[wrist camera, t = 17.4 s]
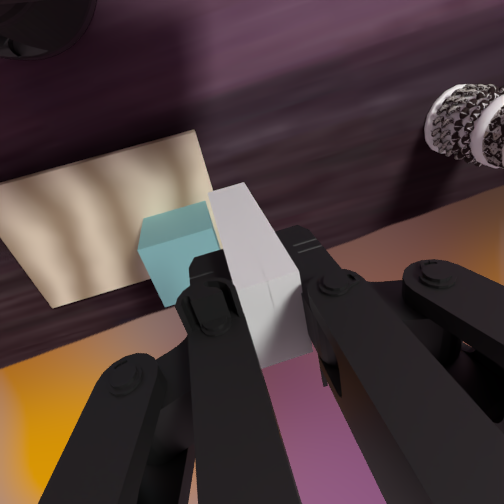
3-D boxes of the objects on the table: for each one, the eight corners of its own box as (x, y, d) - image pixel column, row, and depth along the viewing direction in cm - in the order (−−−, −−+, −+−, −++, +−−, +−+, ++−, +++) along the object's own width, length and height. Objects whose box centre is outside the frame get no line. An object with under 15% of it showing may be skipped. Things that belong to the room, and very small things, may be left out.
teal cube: (166, 269, 42) (164, 307, 36) (143, 218, 38) (137, 250, 32) (221, 252, 43) (231, 286, 36) (205, 200, 39) (212, 228, 32)
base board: (56, 301, 43) (52, 308, 42) (-24, 189, 34) (-32, 193, 33) (230, 248, 44) (231, 253, 43) (194, 129, 36) (195, 131, 35)
